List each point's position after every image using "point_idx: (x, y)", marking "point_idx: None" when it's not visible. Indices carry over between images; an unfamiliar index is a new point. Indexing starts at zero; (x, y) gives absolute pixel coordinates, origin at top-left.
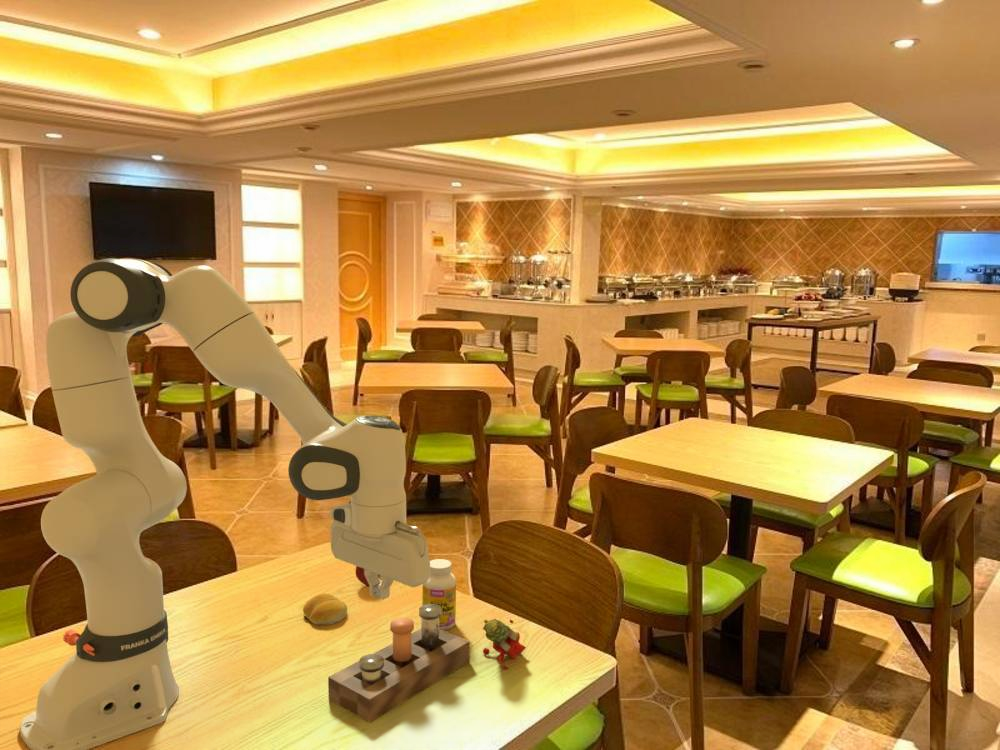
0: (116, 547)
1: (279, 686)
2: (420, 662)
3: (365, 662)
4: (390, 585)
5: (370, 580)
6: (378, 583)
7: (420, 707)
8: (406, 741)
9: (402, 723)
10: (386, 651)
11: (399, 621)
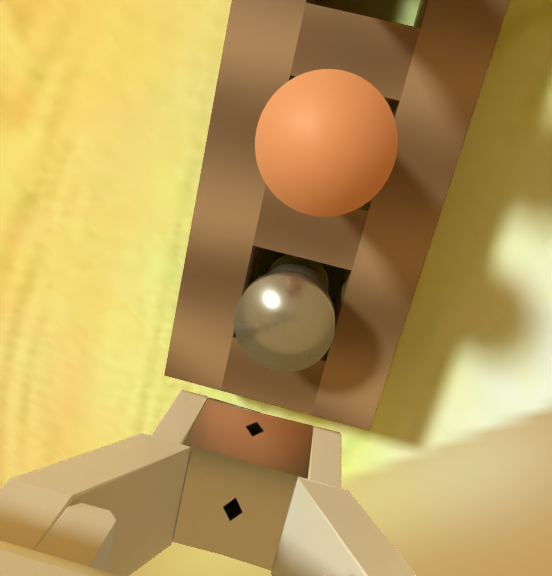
0: None
1: (24, 346)
2: (420, 137)
3: (272, 350)
4: (358, 511)
5: (119, 572)
6: (183, 465)
7: (473, 262)
8: (510, 420)
9: (458, 355)
10: (239, 127)
11: (299, 134)
